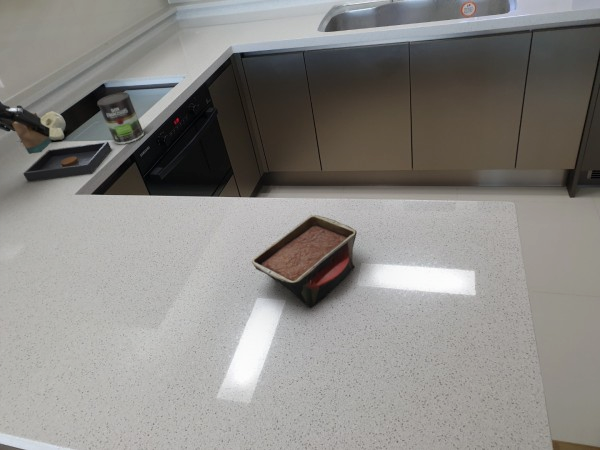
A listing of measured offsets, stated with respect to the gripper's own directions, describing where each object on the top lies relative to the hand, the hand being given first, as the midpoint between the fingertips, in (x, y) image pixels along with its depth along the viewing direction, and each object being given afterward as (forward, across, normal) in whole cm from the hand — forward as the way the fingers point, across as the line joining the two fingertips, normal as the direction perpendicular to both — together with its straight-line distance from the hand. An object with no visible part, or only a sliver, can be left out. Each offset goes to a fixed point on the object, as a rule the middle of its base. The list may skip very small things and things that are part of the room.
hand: (41, 133), depth 145 cm
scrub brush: (0, 0, -5) cm, 5 cm away
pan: (+5, +7, -10) cm, 13 cm away
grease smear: (+4, +7, -9) cm, 12 cm away
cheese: (+22, -15, +7) cm, 27 cm away
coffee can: (+16, +21, +1) cm, 26 cm away
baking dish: (-39, +87, -54) cm, 109 cm away
